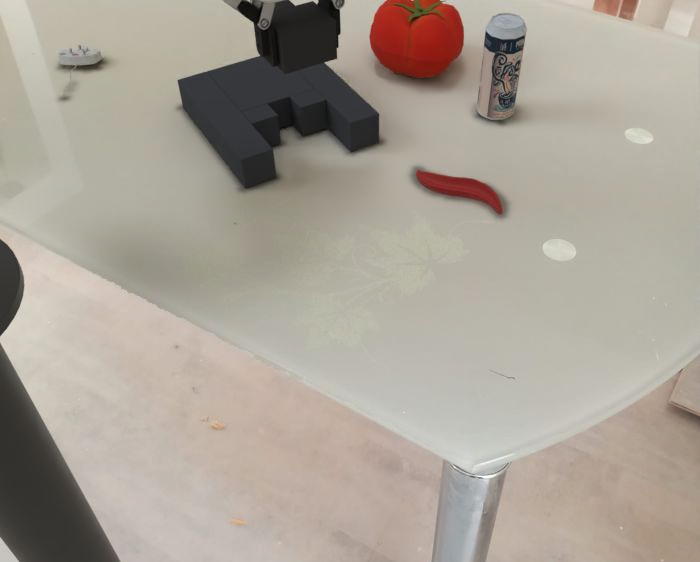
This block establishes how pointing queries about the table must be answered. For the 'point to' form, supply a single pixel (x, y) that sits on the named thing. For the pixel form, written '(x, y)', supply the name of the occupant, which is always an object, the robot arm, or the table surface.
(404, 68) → the tomato
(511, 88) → the beer can
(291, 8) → the black puzzle block
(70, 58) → the game controller
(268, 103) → the grey pad
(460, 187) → the cayenne pepper
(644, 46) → the table surface
